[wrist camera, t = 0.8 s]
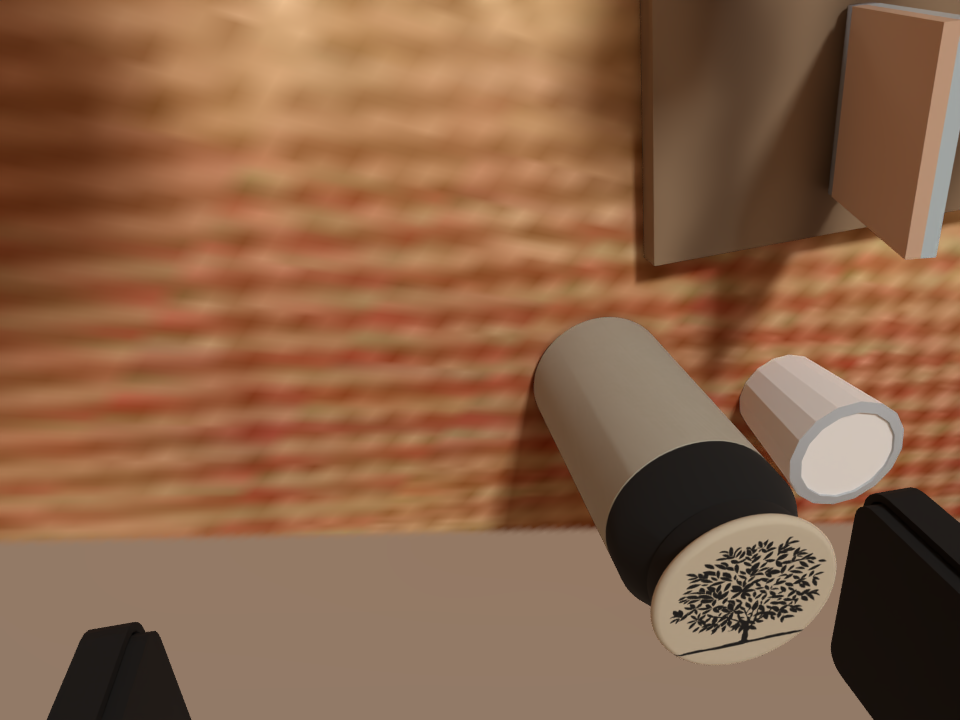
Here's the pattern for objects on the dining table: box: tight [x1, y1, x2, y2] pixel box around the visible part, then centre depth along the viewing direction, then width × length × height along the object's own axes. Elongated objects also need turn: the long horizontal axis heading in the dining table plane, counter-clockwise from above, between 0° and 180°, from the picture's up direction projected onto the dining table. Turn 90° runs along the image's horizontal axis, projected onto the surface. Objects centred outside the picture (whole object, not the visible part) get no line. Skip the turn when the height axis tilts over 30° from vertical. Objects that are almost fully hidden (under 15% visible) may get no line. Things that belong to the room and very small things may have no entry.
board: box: [640, 0, 960, 266], centre depth 38 cm, size 20×14×2 cm
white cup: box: [740, 355, 904, 504], centre depth 44 cm, size 7×7×7 cm
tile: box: [828, 2, 960, 260], centre depth 32 cm, size 10×9×1 cm
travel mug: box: [534, 317, 836, 665], centre depth 36 cm, size 8×8×18 cm
